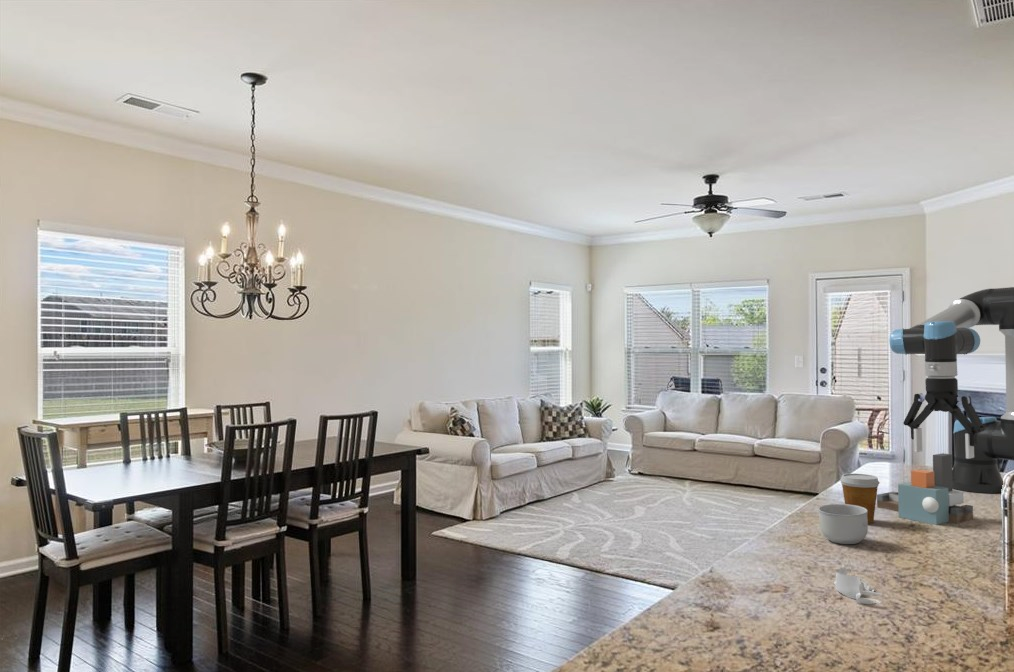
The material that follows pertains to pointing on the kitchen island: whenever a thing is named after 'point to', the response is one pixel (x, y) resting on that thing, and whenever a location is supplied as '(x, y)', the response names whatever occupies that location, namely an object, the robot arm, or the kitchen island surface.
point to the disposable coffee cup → (861, 492)
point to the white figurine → (853, 587)
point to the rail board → (896, 508)
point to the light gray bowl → (843, 523)
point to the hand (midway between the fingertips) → (943, 454)
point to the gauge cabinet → (923, 503)
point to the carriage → (946, 477)
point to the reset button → (922, 478)
